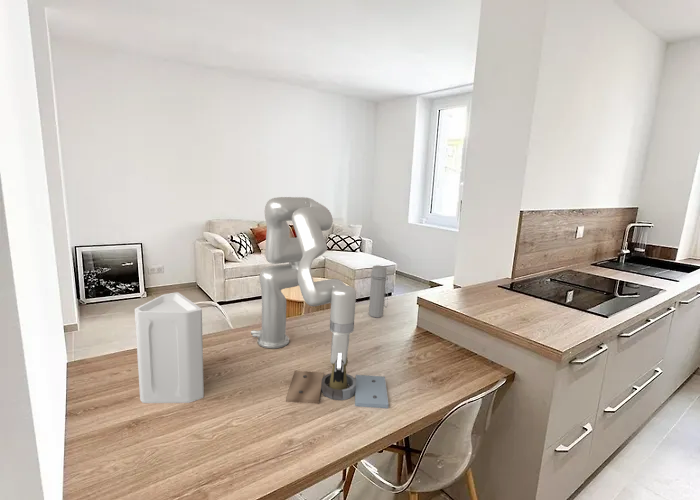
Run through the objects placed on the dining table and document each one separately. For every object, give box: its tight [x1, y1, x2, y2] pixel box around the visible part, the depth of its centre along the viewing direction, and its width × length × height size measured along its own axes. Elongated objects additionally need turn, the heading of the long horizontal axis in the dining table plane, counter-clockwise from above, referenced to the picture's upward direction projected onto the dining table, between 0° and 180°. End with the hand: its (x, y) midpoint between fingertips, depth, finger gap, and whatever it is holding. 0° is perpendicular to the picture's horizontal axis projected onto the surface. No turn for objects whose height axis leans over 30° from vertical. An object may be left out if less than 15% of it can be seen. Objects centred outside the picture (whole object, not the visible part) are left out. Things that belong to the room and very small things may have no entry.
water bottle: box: [368, 264, 389, 318], centre depth 184 cm, size 9×8×25 cm
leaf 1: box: [285, 370, 343, 405], centre depth 120 cm, size 17×16×3 cm
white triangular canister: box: [134, 291, 205, 404], centre depth 112 cm, size 19×15×28 cm
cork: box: [328, 358, 349, 390], centre depth 119 cm, size 6×6×11 cm
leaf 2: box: [341, 373, 389, 409], centre depth 120 cm, size 14×16×3 cm
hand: (338, 378), depth 120 cm, fingers closed on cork, 3 cm apart
